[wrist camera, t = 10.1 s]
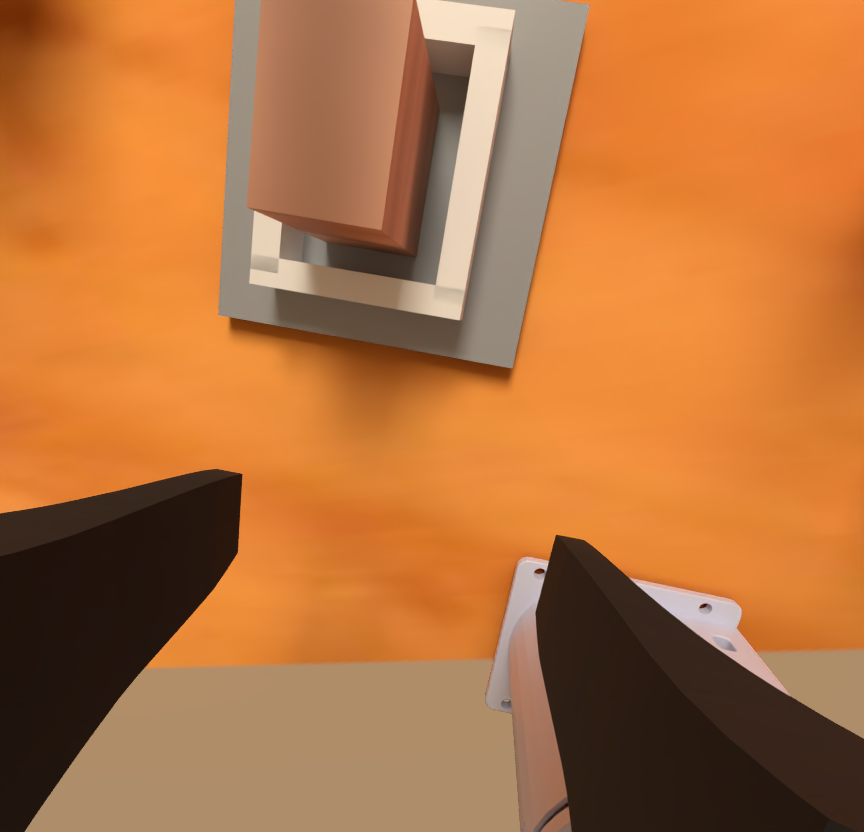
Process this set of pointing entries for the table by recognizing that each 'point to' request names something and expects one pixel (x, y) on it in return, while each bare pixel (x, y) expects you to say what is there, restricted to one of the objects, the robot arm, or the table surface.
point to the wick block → (343, 121)
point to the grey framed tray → (445, 199)
